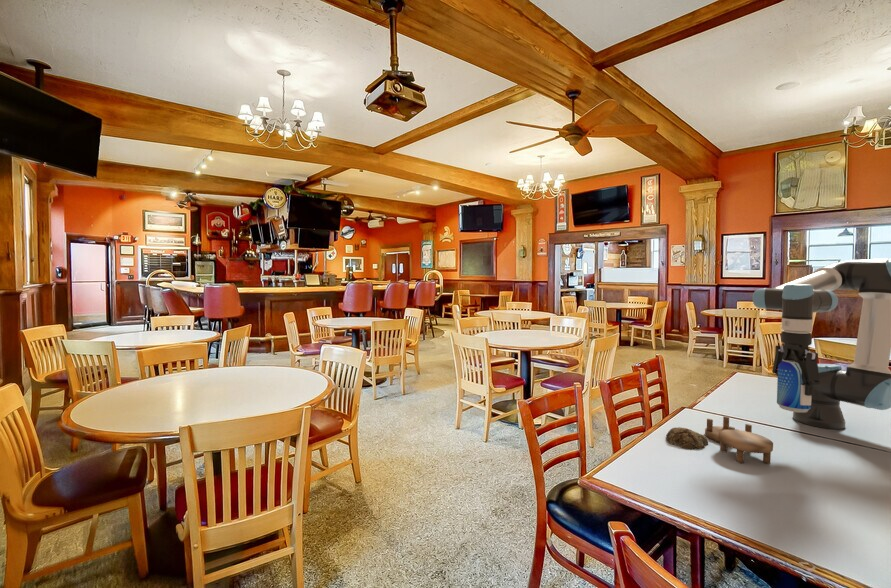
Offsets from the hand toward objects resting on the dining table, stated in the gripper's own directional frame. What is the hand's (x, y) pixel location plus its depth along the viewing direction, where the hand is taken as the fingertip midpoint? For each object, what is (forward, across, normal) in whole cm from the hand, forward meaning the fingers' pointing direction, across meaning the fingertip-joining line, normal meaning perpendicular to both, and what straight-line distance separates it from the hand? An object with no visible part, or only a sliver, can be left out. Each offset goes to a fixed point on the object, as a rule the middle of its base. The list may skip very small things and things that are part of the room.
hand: (793, 400), depth 130 cm
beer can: (+3, 0, 0) cm, 3 cm away
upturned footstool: (+17, -10, -14) cm, 24 cm away
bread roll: (+18, -7, -30) cm, 36 cm away
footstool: (+17, +4, -18) cm, 25 cm away
